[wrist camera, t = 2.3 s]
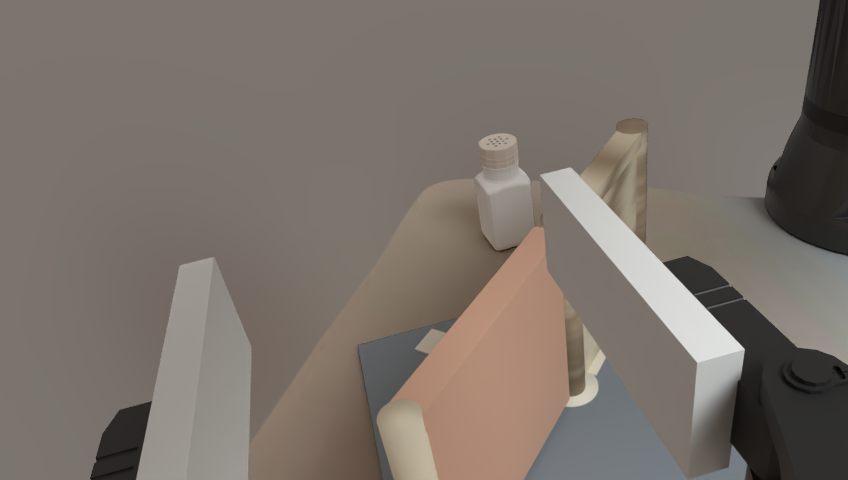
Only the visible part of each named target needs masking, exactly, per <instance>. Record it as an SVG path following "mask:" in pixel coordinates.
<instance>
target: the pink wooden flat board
mask: <svg viewBox="0 0 848 480" xmlns="http://www.w3.org/2000/svg"><path fill="white" fill-rule="evenodd" d="M569 399H570V394H569V378H568V362H567V346H566V330H565V315H564V299H563V293H562V291H561V290H560V288H559V287H558V285H557V284H556V282H555V281H554V279H553V278H552V276H551V275H550V273H549V272H548V270H547V261H546V249H545V236H544V228H542V227H537V226H534V227H533V229H532V230H531V231H530V232H529V234H528V235H527V236H526V237H525V238H524V240H523V241H522V242H521V243H520V244H519V246H518V247H517V248H516V249H515V251H514V252H513V253H512V254H511V255H510V257H509V258H508V259H507V260H506V261H505V263H504V264H503V265H502V266H501V267H500V269H499V270H498V271H497V272H496V274H495V275H494V276H493V277H492V278H491V280H490V281H489V282H488V283H487V284H486V286H485V287H484V288H483V289H482V291H481V292H480V293H479V294H478V295H477V297H476V298H475V299H474V300H473V301H472V303H471V304H470V305H469V306H468V308H467V309H466V310H465V311H464V312H463V314H462V315H461V316H460V317H459V318H458V320H457V321H456V322H455V323H454V324H453V326H452V327H451V328H450V329H449V331H448V332H447V333H446V334H445V335H444V337H443V338H442V339H441V340H440V341H439V343H438V344H437V345H436V346H435V348H434V349H433V350H432V351H431V352H430V354H429V355H428V356H427V357H426V358H425V360H424V361H423V362H422V363H421V365H420V366H419V367H418V368H417V369H416V371H415V372H414V373H413V374H412V375H411V377H410V378H409V379H408V380H407V381H406V383H405V384H404V385H403V386H402V388H401V389H400V390H399V391H398V392H397V394H396V395H395V396H394V397H393V398H392V400H391V401H390V402H389V403H388V404H386V405H385V406H384V407H383V408H382V409H381V410H380V411H379V413H378V415H377V425H378V428H379V432H380V435H381V438H382V442H383V445H384V448H385V452H386V455H387V458H388V462H389V465H390V469H391V472H392V475H393V479H394V480H524V478H525V477H526V475H527V473H528V471H529V470H530V468H531V466H532V464H533V462H534V461H535V459H536V457H537V455H538V454H539V452H540V450H541V448H542V447H543V445H544V443H545V441H546V440H547V438H548V436H549V434H550V433H551V431H552V429H553V427H554V425H555V424H556V422H557V420H558V418H559V417H560V415H561V413H562V411H563V410H564V408H565V406H566V404H567V403H568V401H569Z"/></svg>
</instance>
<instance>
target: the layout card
mask: <svg viewBox="0 0 848 480" xmlns="http://www.w3.org/2000/svg"><path fill="white" fill-rule="evenodd" d="M457 320H458V318H456V319H452V320H449V321H445V322H441V323H438V324H434V325H430V326H426V327H423V328H419V329H415V330H411V331H408V332H404V333H400V334H397V335H393V336H389V337H385V338H382V339H378V340H374V341H370V342H367V343H363V344H359V345H358V350H359V355H360V360H361V366H362V371H363V377H364V382H365V387H366V393H367V398H368V403H369V409H370V414H371V419H372V425H373V430H374V436H375V441H376V446H377V452H378V457H379V462H380V468H381V473H382V478H383V480H394V479H393V475H392V472H391V469H390V465H389V462H388V458H387V455H386V452H385V448H384V445H383V442H382V438H381V435H380V432H379V428H378V425H377V415H378V413H379V411H380V410H381V409H382V408H383V407H384V406H385V405H386V404H388V403H389V402H390V401H391V400H392V398H393V397H394V396H395V395H396V394H397V392H398V391H399V390H400V389H401V388H402V386H403V385H404V384H405V383H406V381H407V380H408V379H409V378H410V377H411V375H412V374H413V373H414V372H415V371H416V369H417V368H418V367H419V366H420V365H421V363H422V362H423V361H424V360H425V358H426V357H427V356H428V355H429V354H430V352H431V351H432V350H433V349H434V348H435V346H436V345H437V344H438V343H439V341H440V340H441V339H442V338H443V337H444V335H445V334H446V333H447V332H448V331H449V329H450V328H451V327H452V326H453V324H454V323H455V322H456V321H457ZM585 382H586V387H585V390H584V391H583V392H582V393H581V394H579V395H577V396H573V397H570V399H569V401H568V403H567V404H566V406H565V408H564V410H563V411H562V413H561V415H560V417H559V418H558V420H557V422H556V424H555V425H554V427H553V429H552V431H551V433H550V434H549V436H548V438H547V440H546V441H545V443H544V445H543V447H542V448H541V450H540V452H539V454H538V455H537V457H536V459H535V461H534V462H533V464H532V466H531V468H530V470H529V471H528V473H527V475H526V477H525V478H524V480H687V478H686V477H685V475H684V474H683V472H682V471H681V469H680V468H679V466H678V465H677V463H676V462H675V460H674V459H673V457H672V456H671V454H670V453H669V451H668V450H667V448H666V447H665V445H664V444H663V442H662V441H661V439H660V438H659V436H658V435H657V433H656V432H655V430H654V429H653V427H652V426H651V424H650V423H649V421H648V420H647V418H646V417H645V415H644V414H643V412H642V411H641V409H640V408H639V406H638V405H637V403H636V402H635V400H634V399H633V397H632V396H631V394H630V393H629V391H628V390H627V388H626V387H625V385H624V384H623V382H622V381H621V379H620V378H619V376H618V375H617V373H616V372H615V370H614V369H613V367H612V366H611V364H610V363H609V361H608V360H607V358H606V357H605V355H604V354H603V352H602V351H601V349H600V351H599V352H598V354H597V356H596V358H595V360H594V361H593V363H592V365H591V367H590V368H589V370H588V372H587V374H586V376H585ZM746 469H747V463H746V462H745V460H744V459H743V458H742V457H741V455H740V454H739V453H738V451H737V450H736V449H735V448H734V446H733V445H732V447H731V455H730V462H729V467H728V468H725V469H721V470H718V471H715V472H711V473H708V474H705V475H701V476H698V477H695V478H691V479H688V480H745V475H746Z"/></svg>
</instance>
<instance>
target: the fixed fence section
mask: <svg viewBox="0 0 848 480" xmlns="http://www.w3.org/2000/svg"><path fill="white" fill-rule="evenodd" d="M616 126H617V127H616V132H615V133H614V135H613V136H612V137H611V138H610V140H609V141H608V142H607V143H606V145H605V146H604V147H603V148H602V150H601V151H600V152H599V153H598V154H597V156H596V157H595V158H594V159H593V161H592V162H591V163H590V164H589V165H588V167H587V168H586V169H585V170H584V171H583V173H582V174H581V175H580V177H581V178H582V180H583V181H584V182H585V183H586V184H587V185H588V186H589V187H590V188H591V189H592V190H593V191H594V192H595V193H596V194H597V195H598V196H599V197H600V198H601V199H602V200H603V202H604V203H605V204H606V205H607V206H608V207H609V208H610V209H611V210H612V211H613V212H614V213H615V214H616V215H617V216H618V217H619V218H620V219H621V220H622V221H623V222H624V223H625V225H626V226H627V227H628V228H629V229H630V230H631V231H632V232H633V233H634V234H635V235H636V236H637V237H638V238H639V239H640V240H641V241H642V242H643V243H644V244H645V240H646V195H647V149H648V148H647V147H648V123H647V122H646V121H645V120H642V119H634V118H632V119H626V120H622V121H620V122H618V123H617V125H616ZM541 227H542V228H544V223H543V214H542V215H541ZM563 299H564V315H565V330H566V346H567V362H568V378H569V394H570V397H573V396H577V395H579V394H581V393H582V392H583V391H584V390H585V387H586V382H585V376H586V374H587V372H588V370H589V368H590V367H591V365H592V363H593V361H594V360H595V358H596V356H597V354H598V352H599V351H600V348H599V346H598V345H597V344H596V342H595V341H594V339H593V338H592V336H591V335H590V333H589V332H588V330H587V329H586V327H585V326H584V324H583V323H582V321H581V320H580V318H579V317H578V315H577V314H576V312H575V311H574V309H573V308H572V306H571V305H570V303H569V302H568V300H567V299H566V297H565V296H564V294H563Z"/></svg>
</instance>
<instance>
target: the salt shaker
mask: <svg viewBox="0 0 848 480" xmlns="http://www.w3.org/2000/svg"><path fill="white" fill-rule="evenodd" d="M478 145H479V152H480V159H481V166H482V170H483V172H481V173H479V174H478V175H477V176H476V177H475V179H474V181H475V189H476V196H477V203H478V210H479V217H480V224H481V231H482V232H483V234H484V235H485V236H486V238H487V239H488V241H489V242H490V243H491V245H492V246H493V247H494V249H495V250H504V249H507V248H511V247H514V246H517V245H519V244H520V243H521V242H522V241H523V240H524V238H525V237H526V236H527V235H528V234H529V232H530V231H531V230H532V229H533V227H534V218H533V206H532V195H531V183H530V179H529V178H528V176H527V175H526V174H525V172H524V171H523V170H522V169H520V168H519V167H518V161H519V156H518V147H517V140H516V137H514V136H512V135H510V134H494V135H490V136H487V137H485V138H483V139H482V140H481V141H480V142H479V143H478Z"/></svg>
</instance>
